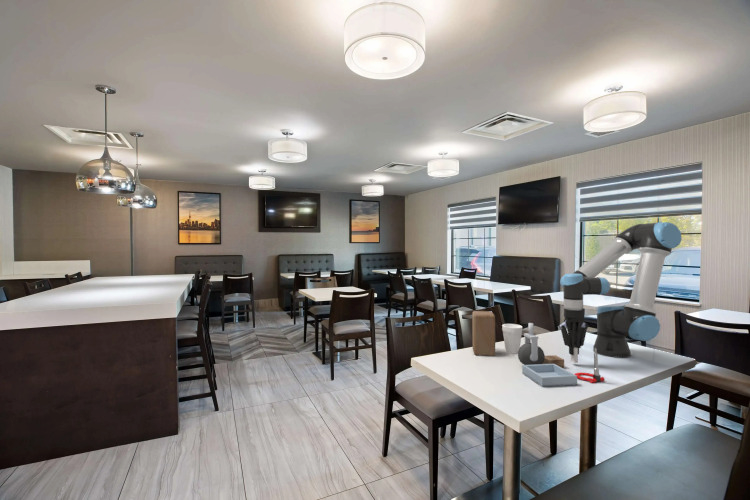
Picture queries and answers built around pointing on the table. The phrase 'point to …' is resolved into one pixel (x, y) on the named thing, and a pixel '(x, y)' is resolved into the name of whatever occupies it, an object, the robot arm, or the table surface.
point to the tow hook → (596, 371)
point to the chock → (554, 360)
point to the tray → (549, 375)
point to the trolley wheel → (531, 349)
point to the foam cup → (512, 337)
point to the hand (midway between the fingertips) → (574, 361)
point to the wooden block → (483, 333)
